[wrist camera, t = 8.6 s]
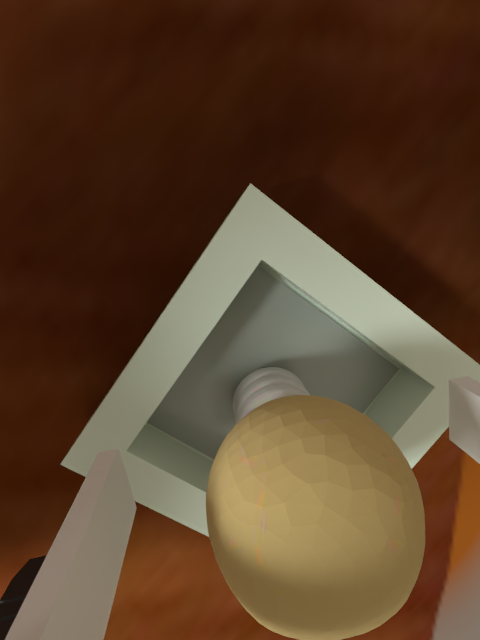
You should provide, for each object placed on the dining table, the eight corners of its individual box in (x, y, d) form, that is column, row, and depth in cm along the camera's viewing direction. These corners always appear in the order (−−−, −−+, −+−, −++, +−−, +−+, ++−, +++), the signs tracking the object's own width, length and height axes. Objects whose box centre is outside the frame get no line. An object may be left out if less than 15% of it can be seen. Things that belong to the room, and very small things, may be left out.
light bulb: (327, 330, 16) (503, 466, 7) (327, 441, 18) (470, 679, 8) (198, 343, 16) (190, 512, 6) (211, 457, 17) (220, 730, 8)
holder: (88, 421, 17) (59, 464, 14) (240, 195, 16) (250, 183, 12) (292, 528, 20) (309, 585, 17) (440, 350, 19) (492, 375, 15)
